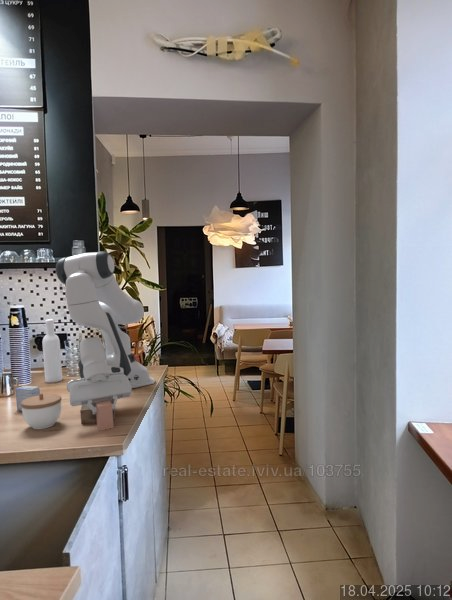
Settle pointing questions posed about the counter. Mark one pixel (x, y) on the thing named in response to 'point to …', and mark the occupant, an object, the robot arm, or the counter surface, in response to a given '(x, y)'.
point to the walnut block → (90, 413)
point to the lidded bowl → (41, 410)
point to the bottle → (51, 354)
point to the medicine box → (25, 394)
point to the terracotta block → (104, 415)
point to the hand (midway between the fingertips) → (104, 411)
